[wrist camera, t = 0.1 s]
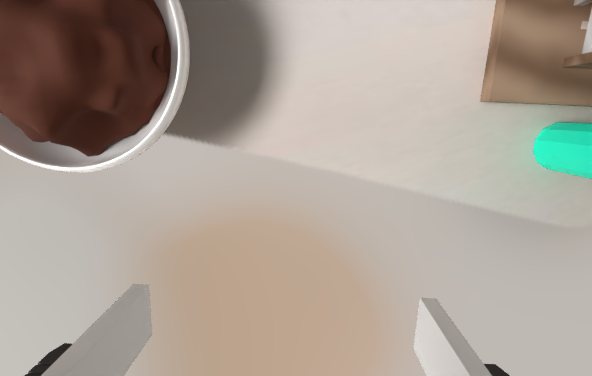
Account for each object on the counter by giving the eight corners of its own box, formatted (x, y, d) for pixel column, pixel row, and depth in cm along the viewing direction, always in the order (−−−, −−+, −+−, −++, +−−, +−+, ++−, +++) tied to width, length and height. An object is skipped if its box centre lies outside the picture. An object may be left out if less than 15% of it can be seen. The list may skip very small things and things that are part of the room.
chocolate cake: (200, -64, 37) (132, -181, 22) (221, 156, 42) (178, 178, 28) (-14, -49, 38) (-215, -153, 23) (34, 165, 43) (-105, 191, 29)
